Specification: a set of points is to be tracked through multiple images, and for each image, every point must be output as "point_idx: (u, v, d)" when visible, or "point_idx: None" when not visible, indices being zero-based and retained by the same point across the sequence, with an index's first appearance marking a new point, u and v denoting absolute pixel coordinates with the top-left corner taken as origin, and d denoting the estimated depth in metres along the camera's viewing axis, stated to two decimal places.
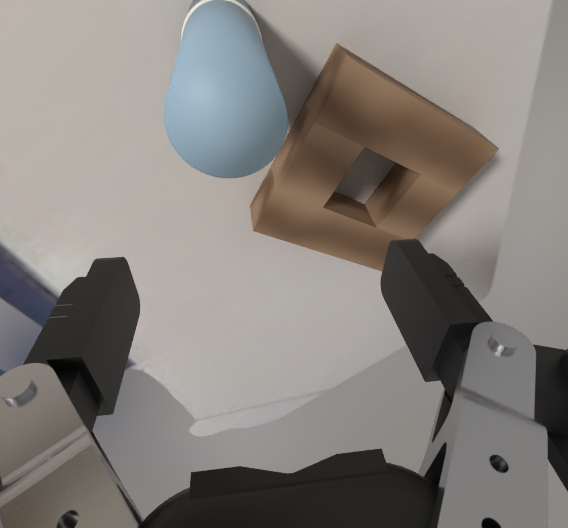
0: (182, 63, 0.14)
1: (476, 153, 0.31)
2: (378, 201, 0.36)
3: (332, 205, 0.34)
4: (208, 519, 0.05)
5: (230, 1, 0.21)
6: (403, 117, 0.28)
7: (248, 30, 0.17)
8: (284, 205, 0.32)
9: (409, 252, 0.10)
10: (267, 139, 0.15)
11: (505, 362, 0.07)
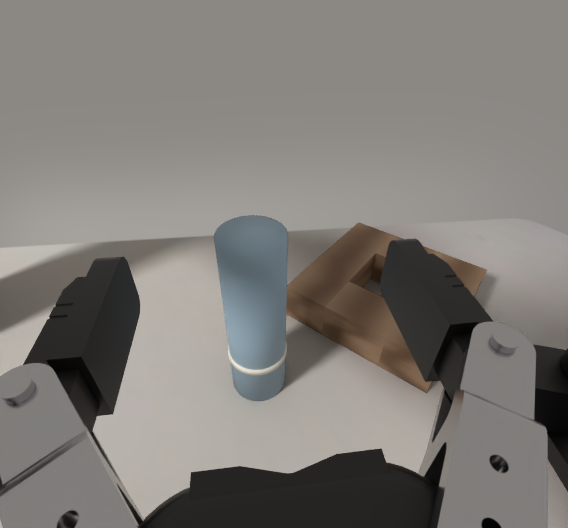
0: (218, 259, 0.23)
1: (360, 230, 0.46)
2: None
3: None
4: (208, 519, 0.05)
5: None
6: (329, 263, 0.40)
7: None
8: None
9: (409, 252, 0.10)
10: (266, 223, 0.24)
11: (505, 362, 0.07)
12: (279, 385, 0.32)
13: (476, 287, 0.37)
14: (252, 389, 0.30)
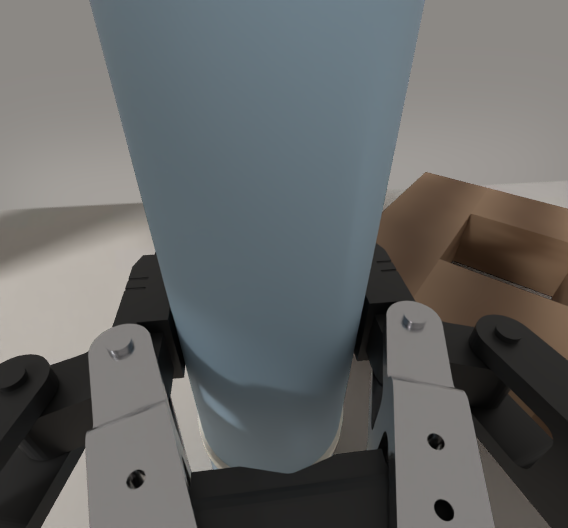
0: (115, 95, 0.05)
1: (433, 182, 0.28)
2: (536, 269, 0.23)
3: None
4: (208, 519, 0.05)
5: None
6: (395, 229, 0.22)
7: None
8: None
9: None
10: None
11: (412, 336, 0.08)
12: None
13: None
14: None
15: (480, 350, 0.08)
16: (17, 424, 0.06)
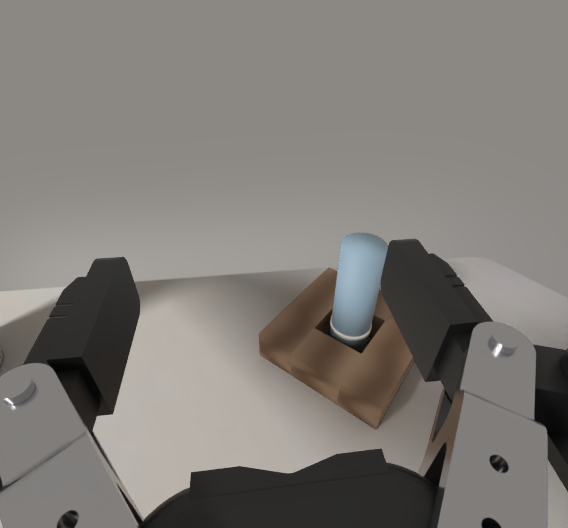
0: (344, 261, 0.37)
1: (329, 276, 0.51)
2: None
3: None
4: (208, 519, 0.05)
5: None
6: (299, 310, 0.46)
7: None
8: (356, 380, 0.38)
9: (409, 252, 0.10)
10: (371, 237, 0.38)
11: (505, 362, 0.07)
12: None
13: None
14: None
15: None
16: None
